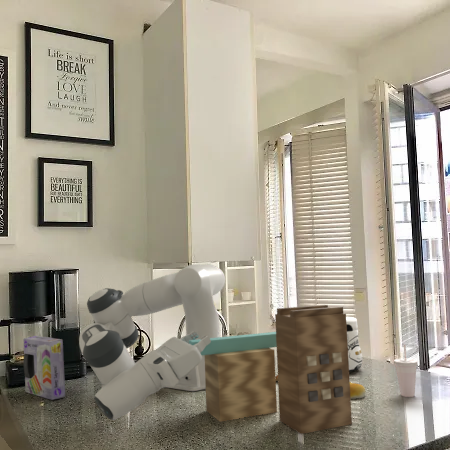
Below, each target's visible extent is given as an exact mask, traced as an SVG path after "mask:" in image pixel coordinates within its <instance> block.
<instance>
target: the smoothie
mask: <svg viewBox="0 0 450 450" xmlns="http://www.w3.org/2000/svg"><path fill="white" fill-rule="evenodd" d="M406 346H407V345H406V344H403V356H404V357H403V358H395V359H393V364H394V365H395V372H396V377H397V381H398V385H399V386H398V387H399V393H400V396H401V397H404V398H405V397H406V398H413V397H415V396H416V380H417V379H416V378H417V366H418V360H417V359H414V358H407V347H406Z"/></svg>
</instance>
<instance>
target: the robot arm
mask: <svg viewBox="0 0 450 450" xmlns="http://www.w3.org/2000/svg"><path fill="white" fill-rule="evenodd" d="M225 285H226V276H225V273H224V272H223V270H222V269H221V268H219V267H217V266H216V265H213V264H211V263H210V264H209V263H207V264H206V263H205V264H201V263H200V264H189V265H187V266H185V267H183V268H181V269H180V270H179V271H178V272H174V273H170V274H166V275H163V276H160V277H157V278H155V279H151V280H148V281H144V282H142V283H140V284H137V285H135V286H133V287H132V288H130V289H128V290H126V292H125V293H124V292H123V291H122V290H120V289H114V288H108V287H106V288H102V289H99V290H97V291H95V292H94V293H92V295H91V296H89V298H88V299H87V302H86V306H87V310H88V312H89V314H91V317H92V319H93V322H92V323H89V324H87V325H86V326H85V327H84V328H82V330H81V331H80V333H79V338H78V341H79V349H80V351H81V353H82V357H83V358H84V360H85V361H86V363H87V364H89V366H90V367H91V369H92V370H93V373H94V374H95V375H96V377H97V379H98V380H99V382H100V383H101V389H99V390H98V391H97V392H96V393H95V395H93V397H94V402H95V404H96V405H97V407H98V409H99V410H100V411H101V412H102V414H103V415H104V416H105V417H106V418H107V419H109V420H111V421H113V420H114V421H115V420H117V419H119V418H121V417H123V416H125V415H127V414H129V413H130V412H131V411H133V410H134V409H136V408H137V407H139V406H140V405H141V404H142V403H144V401H146V399H147V398H148V397H149V396H151V395H153V394H155V393H157V392H159V391H160V390H161V389H164V388H170V389H176V390H181V391H187V392H188V391H189V392H197V391H201V390H206V384H205V355H201V354H200V353H201V352H202V351H203V350H204V348H205V347H206V346H207V345H208V344H209V343H210V342H211V340H210V338H218V337H221V333H220V331H221V330H220V315H219V313H218V311H217V310H216V306H215V302H214V296H216V295H217V294H218V293H219V292H221V291H222V290H223V288H224V287H225ZM178 306H182V307H183V311H184V312H183V313H184V318H185V319H184V320H185V334H186V335H184V336H182V337H180V338H178V337H176V336H173V337H171V338H169V339H168V340H166V341H165V342H164V343H162V344H161V345H160V346H159V347H157V348H156V349H152V350H151V351H149V352H148V353H147V354H146V355H144V356H143V357H141V358H140V359H139V360H137V361H136V362H135V359H133V357H132V355H131V354H130V352H129V350H128V349H129V348H130V347H132V346H133V345H134V344H136V342H137V340H138V338H139V330H138V327H137V325H135V322H134V321H133V317H139V316H140V317H141V316H147V315H151V314H155V313H159V312H162V311H166V310H168V309H172V308H174V307H178ZM198 339H201V341H199V342H198V343H197V344H195V345H191V344H189V340H198Z"/></svg>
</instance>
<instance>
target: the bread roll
mask: <svg viewBox="0 0 450 450" xmlns="http://www.w3.org/2000/svg"><path fill="white" fill-rule="evenodd" d="M365 397H366V387H364V385H362V384H360V383H359V384H358V383H356V382H351V381H350V398H351V400H356V398H359V399H364V398H365Z"/></svg>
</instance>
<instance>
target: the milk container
mask: <svg viewBox="0 0 450 450" xmlns="http://www.w3.org/2000/svg"><path fill="white" fill-rule="evenodd" d="M346 324H347V343H348V361H349V373H351V372H355V371H358V370H359V369H360V368H361V367H362V365H363V352H362V349H361V346H360V341H359V327H358V326H359V325H358V319H357V318H356V317H352V316H346Z"/></svg>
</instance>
